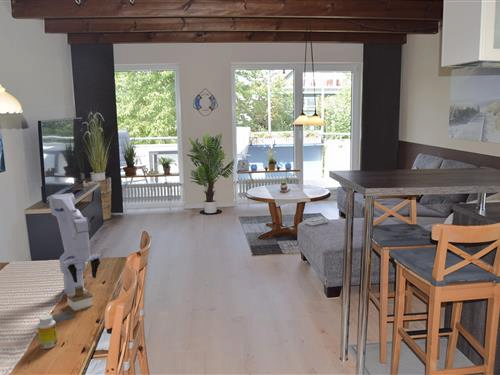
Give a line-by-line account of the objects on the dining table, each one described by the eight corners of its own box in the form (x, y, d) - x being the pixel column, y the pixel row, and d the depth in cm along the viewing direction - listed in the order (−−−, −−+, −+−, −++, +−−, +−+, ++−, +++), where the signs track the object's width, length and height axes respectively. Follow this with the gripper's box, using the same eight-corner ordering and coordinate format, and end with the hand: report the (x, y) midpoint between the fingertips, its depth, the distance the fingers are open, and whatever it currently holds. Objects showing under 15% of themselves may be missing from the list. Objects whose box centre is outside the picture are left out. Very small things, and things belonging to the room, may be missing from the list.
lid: (66, 296, 186) (65, 286, 185) (85, 291, 191) (84, 281, 190) (73, 302, 180) (72, 291, 179) (92, 296, 185) (92, 286, 184)
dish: (67, 305, 187) (67, 296, 186) (85, 300, 191) (85, 291, 191) (74, 311, 181) (73, 302, 180) (92, 306, 186) (92, 296, 185)
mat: (48, 316, 177) (48, 316, 177) (69, 310, 182) (69, 310, 182) (55, 323, 171) (55, 323, 171) (76, 317, 176) (76, 316, 176)
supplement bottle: (58, 346, 154) (55, 318, 152) (40, 350, 151) (37, 322, 150) (57, 339, 159) (54, 312, 157) (39, 343, 156) (36, 315, 155)
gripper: (67, 253, 177) (70, 286, 179) (103, 246, 186) (105, 277, 188) (61, 249, 182) (64, 282, 185) (96, 242, 192) (99, 273, 194)
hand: (84, 279), depth 187 cm, fingers open, 7 cm apart
